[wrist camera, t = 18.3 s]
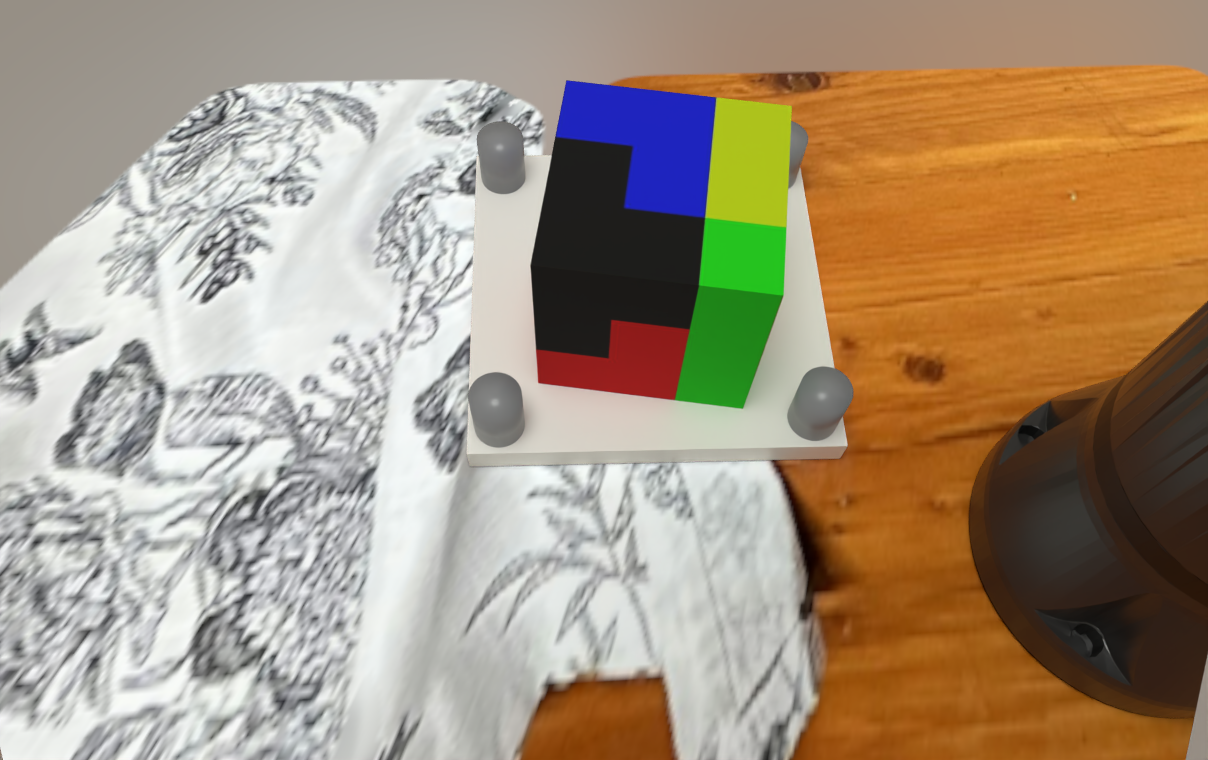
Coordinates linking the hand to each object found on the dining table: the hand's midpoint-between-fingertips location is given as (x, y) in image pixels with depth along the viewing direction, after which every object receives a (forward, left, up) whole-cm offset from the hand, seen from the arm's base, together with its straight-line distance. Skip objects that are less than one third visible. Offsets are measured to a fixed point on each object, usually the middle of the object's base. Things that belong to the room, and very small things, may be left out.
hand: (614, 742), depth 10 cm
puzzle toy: (-4, -24, -30) cm, 39 cm away
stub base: (-4, -26, -32) cm, 41 cm away
